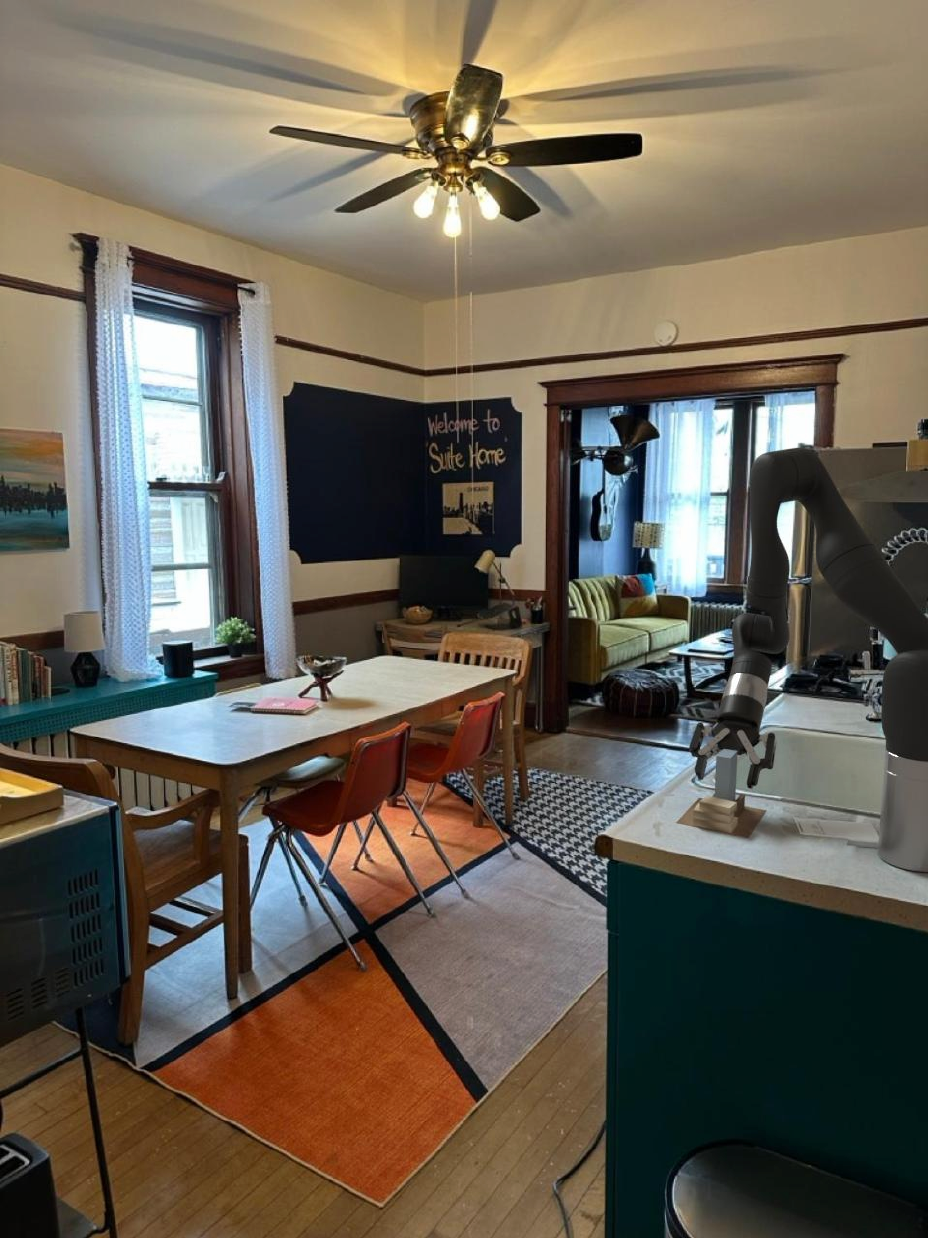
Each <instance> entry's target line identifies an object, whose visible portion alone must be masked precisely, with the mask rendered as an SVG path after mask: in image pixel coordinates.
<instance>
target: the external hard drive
mask: <svg viewBox="0 0 928 1238" xmlns="http://www.w3.org/2000/svg"><path fill="white" fill-rule="evenodd" d="M793 820H794V821H795V824H796V827H797V829H798V831H799V833H800V835H804V836H805V835H807V836H808V835H809V836H815V837H823V838H824V837H827V838H834V839H835V838H836V839H837V838H838V839H845V840H847V844H846V846H853V847H862V848H863V847H864V848H874V849H875V848H876V849H878V840H879V833H878V831H877V830H876V829H875V827H874V826H873V824H872V823H870V822H869V823H868V822H858V821H844V820H841V821H840V820H833V819H832V820H829V819H816V818H804V817H793Z"/></svg>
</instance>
